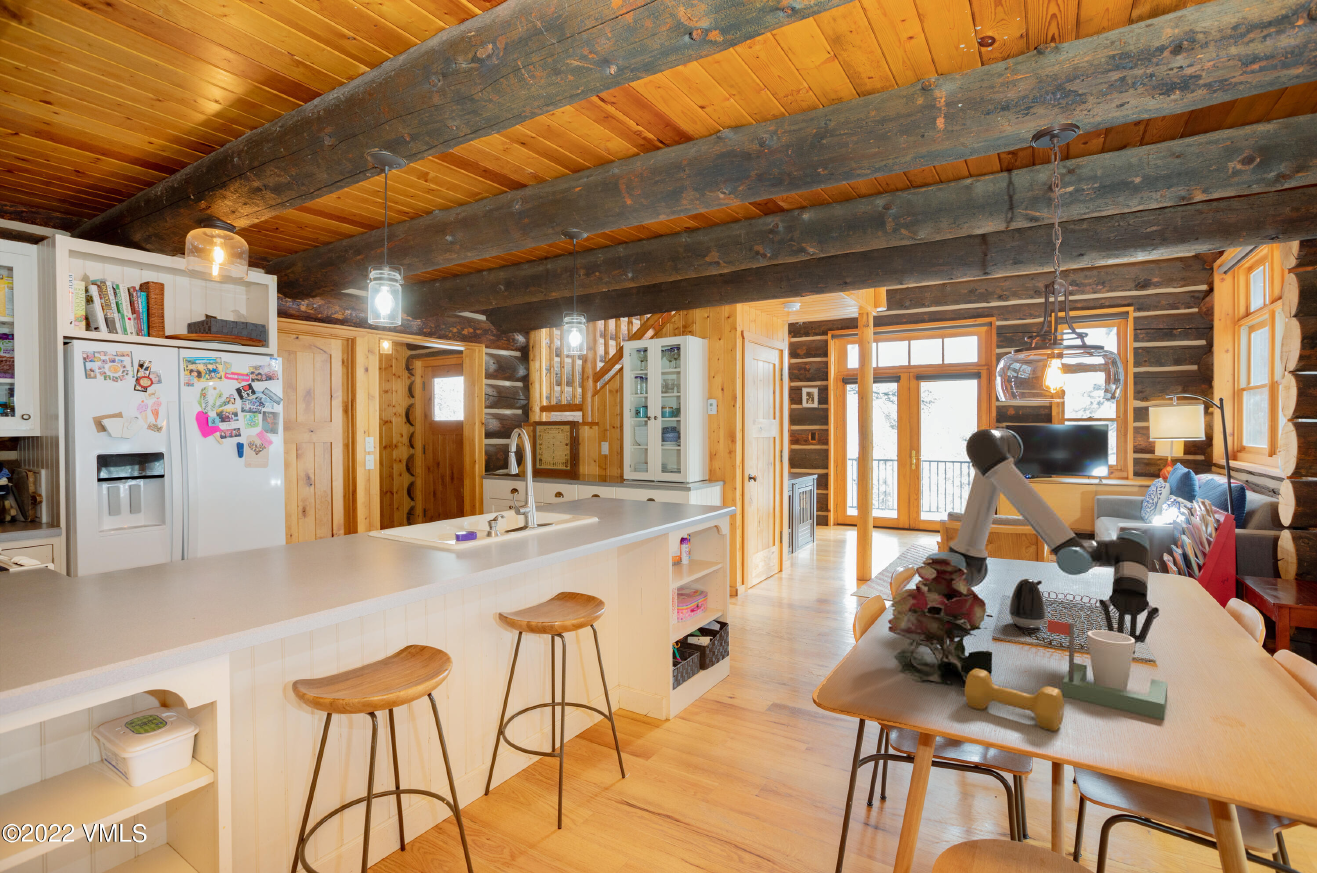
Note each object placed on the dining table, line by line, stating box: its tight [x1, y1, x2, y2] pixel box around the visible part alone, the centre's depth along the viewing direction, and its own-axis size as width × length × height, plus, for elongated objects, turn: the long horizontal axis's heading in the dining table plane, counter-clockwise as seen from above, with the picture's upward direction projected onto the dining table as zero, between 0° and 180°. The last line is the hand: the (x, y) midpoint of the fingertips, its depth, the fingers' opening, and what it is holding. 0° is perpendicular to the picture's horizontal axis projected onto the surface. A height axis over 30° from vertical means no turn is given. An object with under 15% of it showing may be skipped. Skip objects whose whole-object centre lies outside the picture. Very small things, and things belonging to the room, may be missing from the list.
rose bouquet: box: [887, 557, 998, 691], centre depth 168 cm, size 26×29×30 cm
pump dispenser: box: [1008, 578, 1047, 630], centre depth 203 cm, size 10×10×15 cm
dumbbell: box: [964, 668, 1065, 732], centre depth 141 cm, size 19×9×8 cm, turn 45°
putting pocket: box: [1046, 619, 1168, 721], centre depth 152 cm, size 16×22×18 cm
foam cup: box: [1086, 629, 1136, 691], centre depth 155 cm, size 10×9×13 cm
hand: (1124, 663), depth 158 cm, fingers closed
